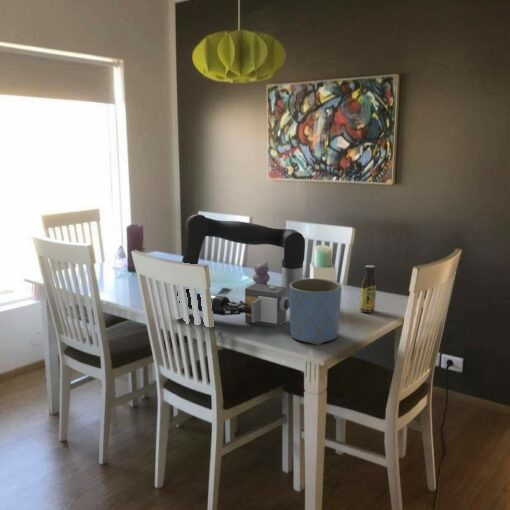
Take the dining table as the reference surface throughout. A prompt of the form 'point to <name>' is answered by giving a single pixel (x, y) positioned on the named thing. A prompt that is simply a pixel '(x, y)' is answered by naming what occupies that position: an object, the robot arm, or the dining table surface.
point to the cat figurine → (261, 273)
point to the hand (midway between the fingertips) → (253, 311)
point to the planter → (314, 310)
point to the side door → (264, 310)
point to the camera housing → (272, 292)
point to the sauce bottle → (368, 290)
